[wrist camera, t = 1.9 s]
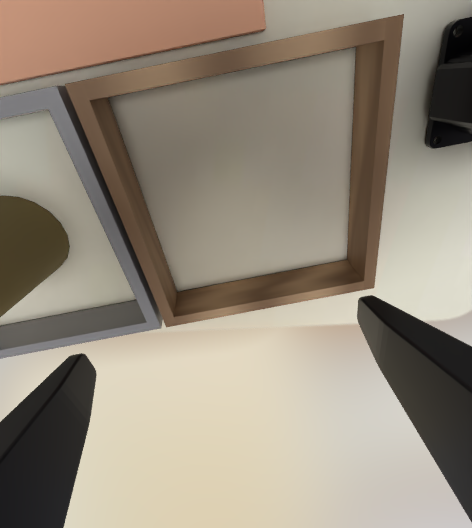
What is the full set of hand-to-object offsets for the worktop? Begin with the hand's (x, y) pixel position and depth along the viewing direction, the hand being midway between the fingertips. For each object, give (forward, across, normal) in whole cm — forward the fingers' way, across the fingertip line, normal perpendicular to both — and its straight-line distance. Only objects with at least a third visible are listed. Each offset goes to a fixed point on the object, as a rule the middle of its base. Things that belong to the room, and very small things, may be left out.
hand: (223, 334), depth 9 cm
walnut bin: (+12, -3, 0) cm, 13 cm away
